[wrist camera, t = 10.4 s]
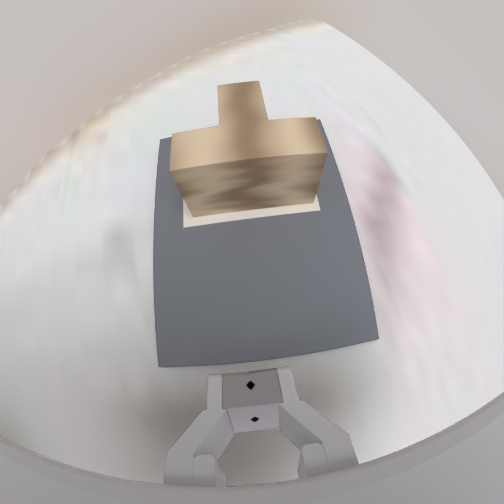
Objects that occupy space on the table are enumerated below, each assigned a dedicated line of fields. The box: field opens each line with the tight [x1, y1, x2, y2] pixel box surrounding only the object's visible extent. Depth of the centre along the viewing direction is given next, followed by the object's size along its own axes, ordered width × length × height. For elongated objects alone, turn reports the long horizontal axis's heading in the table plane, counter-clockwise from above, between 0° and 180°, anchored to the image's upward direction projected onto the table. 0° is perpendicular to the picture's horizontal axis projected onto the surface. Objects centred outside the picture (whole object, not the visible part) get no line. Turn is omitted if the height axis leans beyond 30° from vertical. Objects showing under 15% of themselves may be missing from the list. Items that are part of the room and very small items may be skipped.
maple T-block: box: [169, 81, 328, 218], centre depth 25 cm, size 12×10×8 cm
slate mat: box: [153, 119, 379, 367], centre depth 27 cm, size 20×26×1 cm
